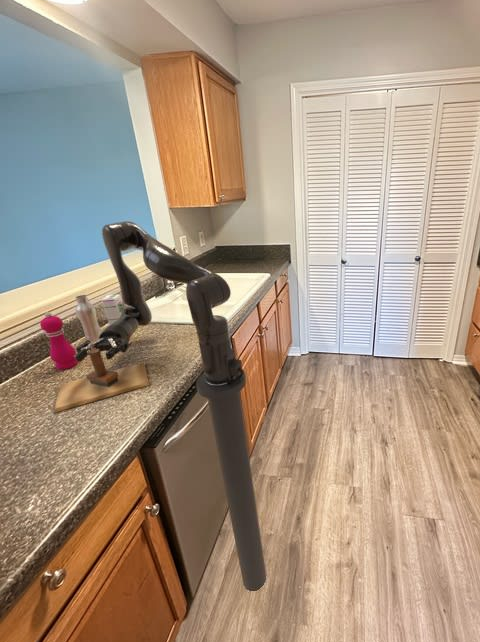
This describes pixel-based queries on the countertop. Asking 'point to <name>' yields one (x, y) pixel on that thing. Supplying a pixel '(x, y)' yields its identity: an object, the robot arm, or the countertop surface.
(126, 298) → the robot arm
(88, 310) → the plastic bottle
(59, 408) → the cutting board
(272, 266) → the countertop surface
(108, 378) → the scrub brush
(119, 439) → the countertop surface
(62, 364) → the pepper mill
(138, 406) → the countertop surface
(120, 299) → the syrup box
